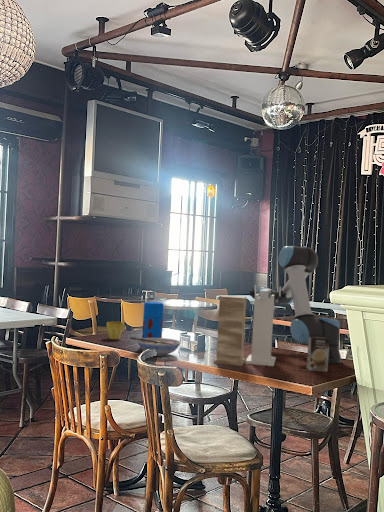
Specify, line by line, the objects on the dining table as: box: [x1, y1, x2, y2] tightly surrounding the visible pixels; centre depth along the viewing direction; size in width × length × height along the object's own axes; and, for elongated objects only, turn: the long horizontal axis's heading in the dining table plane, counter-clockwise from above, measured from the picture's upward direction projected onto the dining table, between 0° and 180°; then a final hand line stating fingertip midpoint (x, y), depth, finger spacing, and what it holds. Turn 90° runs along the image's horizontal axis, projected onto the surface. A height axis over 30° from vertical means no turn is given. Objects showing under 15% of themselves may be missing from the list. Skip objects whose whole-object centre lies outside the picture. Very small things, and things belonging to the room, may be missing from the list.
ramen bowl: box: [130, 337, 181, 357], centre depth 294 cm, size 25×23×8 cm
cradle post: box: [245, 293, 277, 367], centre depth 292 cm, size 20×14×34 cm
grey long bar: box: [259, 288, 272, 299], centre depth 295 cm, size 28×4×4 cm, turn 169°
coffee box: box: [305, 336, 330, 373], centre depth 277 cm, size 9×6×16 cm
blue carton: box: [141, 301, 164, 338], centre depth 317 cm, size 11×11×25 cm
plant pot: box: [106, 321, 125, 340], centre depth 342 cm, size 10×10×10 cm
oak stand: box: [213, 294, 247, 367], centre depth 285 cm, size 14×14×33 cm
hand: (267, 287), depth 312 cm, fingers open, 13 cm apart
